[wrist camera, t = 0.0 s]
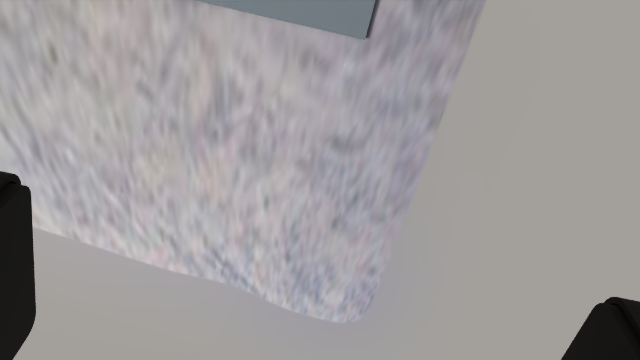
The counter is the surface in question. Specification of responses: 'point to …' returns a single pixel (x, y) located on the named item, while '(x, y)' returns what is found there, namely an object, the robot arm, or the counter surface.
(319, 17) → the mat
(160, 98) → the counter surface
